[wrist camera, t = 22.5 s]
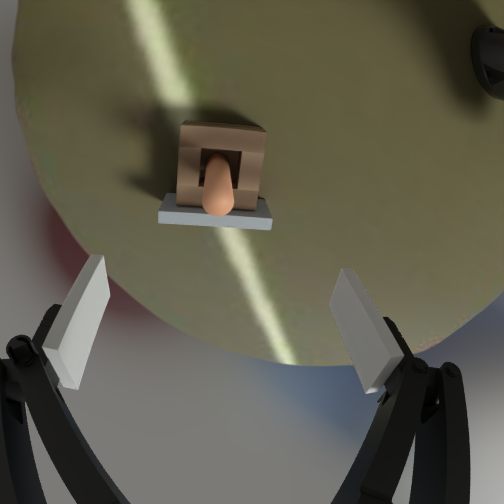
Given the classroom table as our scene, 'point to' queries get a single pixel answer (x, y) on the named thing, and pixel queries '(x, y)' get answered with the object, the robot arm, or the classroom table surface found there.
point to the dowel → (217, 186)
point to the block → (230, 144)
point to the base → (199, 216)
